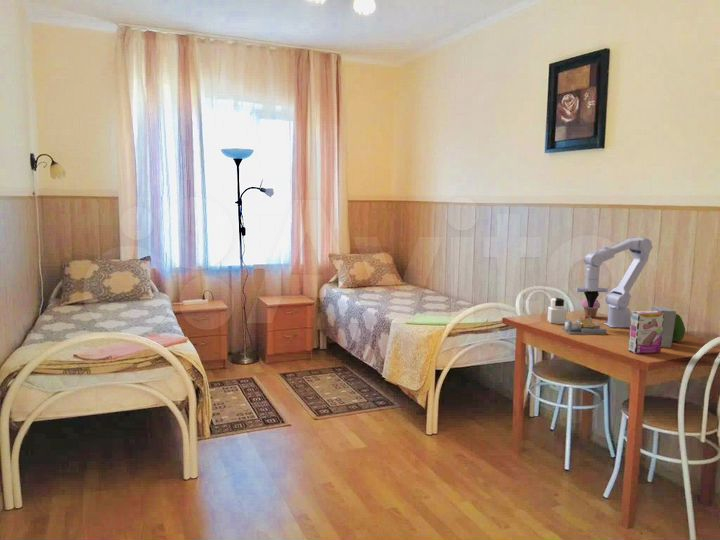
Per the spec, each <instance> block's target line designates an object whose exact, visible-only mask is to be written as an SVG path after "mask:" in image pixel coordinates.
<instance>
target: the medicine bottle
mask: <svg viewBox="0 0 720 540" xmlns="http://www.w3.org/2000/svg"><path fill="white" fill-rule="evenodd" d="M564 305H565V299H563V298H561V297H553V298H551V299H550V306H548V307H547V319H546V320H547V322H549V323H550V324H551V323H553V324H552V325H565V320H566V319H567V309H565V306H564Z"/></svg>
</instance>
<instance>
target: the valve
mask: <svg viewBox="0 0 720 540" xmlns="http://www.w3.org/2000/svg"><path fill="white" fill-rule="evenodd" d="M579 321H580V323H581V329H594V328H595V325H596V324H595V323H594V322H593V318H592V317H590V316H588V315H585V314H584V315H583V316H579Z"/></svg>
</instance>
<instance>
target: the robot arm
mask: <svg viewBox="0 0 720 540" xmlns="http://www.w3.org/2000/svg"><path fill="white" fill-rule="evenodd" d="M653 248H654V247H653V243H652V241H651V239H650V238H648V237H647V238H646V237H644V238H643V237H636V236H631V237H629V238H626V239H625V240H623V241H622V242H620V243H618V244H616V245H614V246H612V247H610V246H605V245H604V246H603V247H602V248H601V249H599V250H594V252H593V253H592V252H589V253H587V254H586V255H585V257H584V259H583V262H584V264H585V268H586V269H585V270H586V271H585V283H584V285H585V286H584V287H575V293H584V295H585V299H587V302H588V307H590V308H593V305H594V303H595V300H596V299H597V298H598V297H599V295H600V293H608V294H606V296H605V304H607V307H608V313H607V322H604V323H603V324H604V325H605V326H607V327H610V328H624V329H625V328H629V329H630V325H631V314H632V311H631V310H630V308H628V306H629V304H630V300H631V297H632V295H631V293H630V291H631V289H633V286H634V285H635V283H636V281H637V279H638V278H639V276H640V274H641V272H642V271H643V269H644V267H645V266H646V264H647V262H648V260H649V257H650V253H651V251H652V249H653ZM627 250H628V251H630V253H631V255H632V256H633V260H632V261H631V264H630V265H629V267H628V268H627V270H626V272H625V274H624V275H623V277H622V279H621V280H620V282H619V284H618V285H617V287H614V288H613V289H611V291H610V292H609V288H608V287H599V284H600V283H599V282H600V268H601V266H602V265H603V263H604V262H607V261H609V260H611V259H613V258H614V257H615V255H616V254H619V253H621V252H624V251H627ZM597 300H598V299H597Z"/></svg>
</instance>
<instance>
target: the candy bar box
mask: <svg viewBox="0 0 720 540" xmlns="http://www.w3.org/2000/svg"><path fill="white" fill-rule="evenodd" d="M663 320H664V313H662V312H658V311H651V310H632V311H631V320H630V328H629V336H628V337H629V339H628V351H629V352H630V351H631V352H630V353H632V352H633V354H636V355H637V354H660V353H661V348H662V347H661V340H662V330H663Z"/></svg>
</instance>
